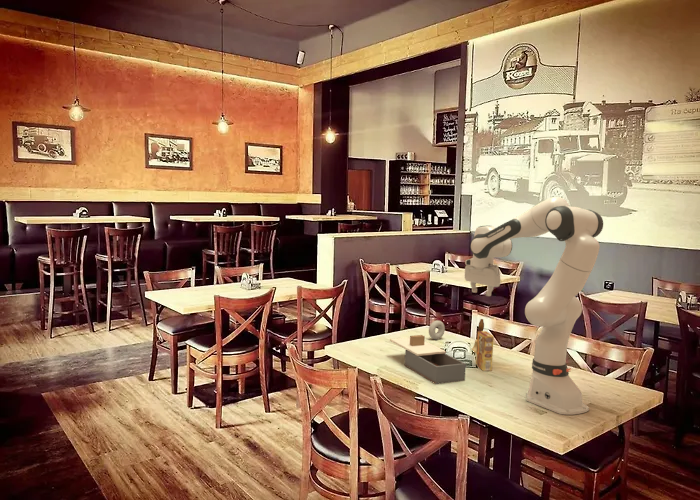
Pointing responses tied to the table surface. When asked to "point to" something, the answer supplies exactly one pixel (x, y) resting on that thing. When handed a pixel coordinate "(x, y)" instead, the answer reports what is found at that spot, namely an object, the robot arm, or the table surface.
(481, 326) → the hand bell
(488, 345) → the candy box
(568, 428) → the table surface
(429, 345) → the lid
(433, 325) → the donut
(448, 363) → the storage box
